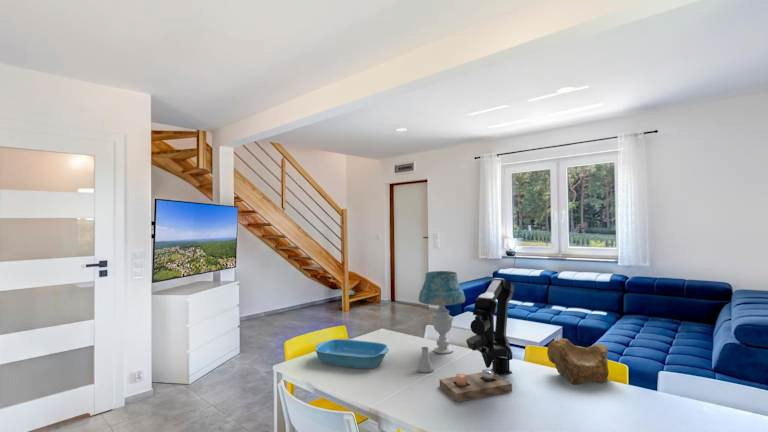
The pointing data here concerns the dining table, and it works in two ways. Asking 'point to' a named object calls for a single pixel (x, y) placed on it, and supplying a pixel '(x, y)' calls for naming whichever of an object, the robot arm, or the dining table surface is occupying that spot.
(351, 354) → the casserole dish
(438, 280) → the table lamp
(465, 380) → the peach rounded cylinder
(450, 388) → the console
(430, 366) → the flask
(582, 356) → the rough brown rock
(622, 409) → the dining table surface
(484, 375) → the steel plunger
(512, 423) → the dining table surface
